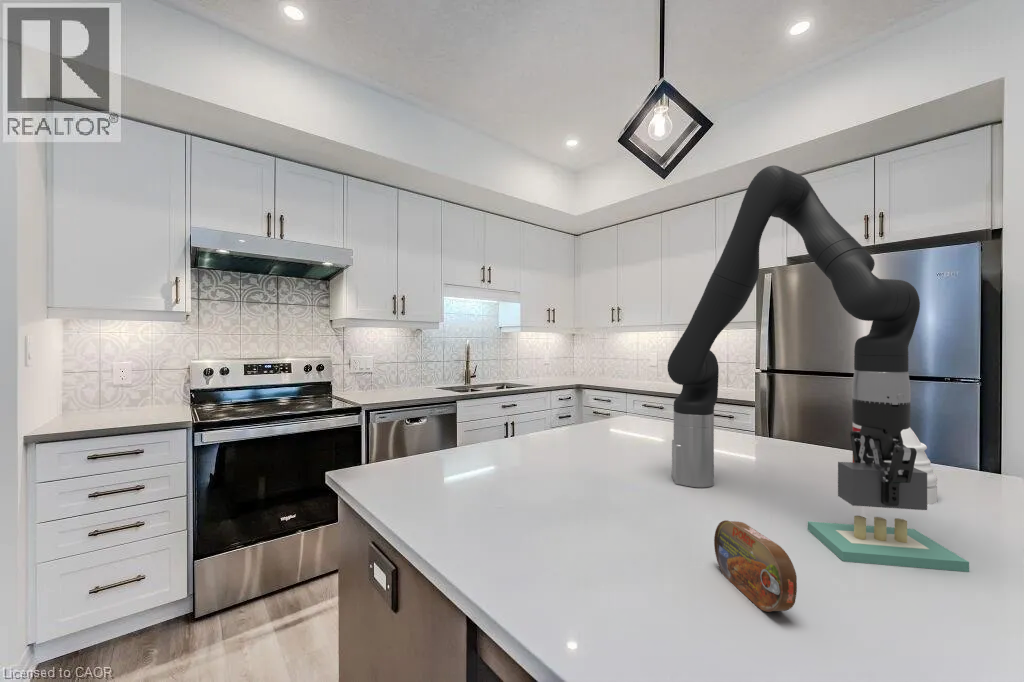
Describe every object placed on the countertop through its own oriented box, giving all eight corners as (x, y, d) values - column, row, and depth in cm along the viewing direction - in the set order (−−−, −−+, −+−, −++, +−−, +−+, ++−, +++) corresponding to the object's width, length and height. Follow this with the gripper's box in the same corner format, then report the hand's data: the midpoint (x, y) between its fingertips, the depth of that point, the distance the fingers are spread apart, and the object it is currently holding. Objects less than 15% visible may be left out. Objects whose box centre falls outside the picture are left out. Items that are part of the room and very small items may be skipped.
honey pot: (866, 481, 110) (866, 409, 110) (938, 494, 101) (938, 415, 101) (857, 494, 101) (858, 415, 101) (935, 509, 92) (936, 422, 92)
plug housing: (852, 505, 73) (852, 469, 73) (837, 495, 78) (838, 461, 78) (927, 510, 71) (927, 473, 71) (907, 500, 76) (907, 465, 76)
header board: (842, 561, 70) (842, 529, 70) (807, 529, 82) (807, 502, 82) (969, 571, 67) (969, 538, 67) (913, 537, 79) (913, 509, 79)
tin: (712, 565, 69) (712, 511, 69) (731, 564, 69) (731, 510, 69) (778, 627, 54) (778, 558, 54) (802, 626, 54) (802, 557, 54)
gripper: (833, 392, 82) (833, 484, 82) (881, 403, 68) (881, 514, 68) (879, 393, 81) (879, 487, 81) (938, 404, 67) (938, 518, 67)
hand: (880, 499), depth 75 cm, fingers closed on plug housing, 4 cm apart
